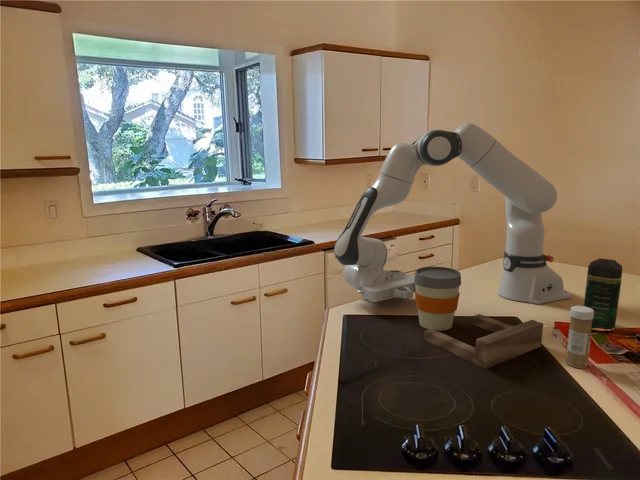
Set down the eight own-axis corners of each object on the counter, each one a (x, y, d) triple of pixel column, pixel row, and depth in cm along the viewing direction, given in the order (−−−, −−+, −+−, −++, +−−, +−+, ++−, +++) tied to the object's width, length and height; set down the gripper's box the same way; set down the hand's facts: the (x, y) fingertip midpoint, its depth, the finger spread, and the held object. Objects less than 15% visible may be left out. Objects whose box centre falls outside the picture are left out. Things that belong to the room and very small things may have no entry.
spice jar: (591, 365, 107) (598, 309, 104) (581, 371, 104) (587, 313, 102) (572, 358, 111) (577, 303, 108) (561, 363, 108) (566, 307, 105)
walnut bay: (424, 339, 122) (425, 317, 120) (478, 322, 133) (479, 302, 131) (485, 368, 106) (486, 343, 105) (541, 346, 117) (543, 323, 116)
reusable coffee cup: (468, 326, 130) (471, 273, 127) (436, 336, 123) (438, 281, 120) (435, 312, 140) (437, 264, 137) (403, 321, 134) (404, 270, 131)
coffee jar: (614, 336, 122) (622, 266, 119) (579, 329, 127) (586, 262, 123) (616, 324, 130) (624, 258, 126) (583, 318, 135) (590, 255, 131)
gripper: (353, 279, 145) (382, 291, 133) (403, 269, 156) (434, 279, 144) (353, 299, 146) (382, 312, 135) (403, 287, 157) (433, 299, 145)
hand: (409, 295), depth 140 cm, fingers closed
